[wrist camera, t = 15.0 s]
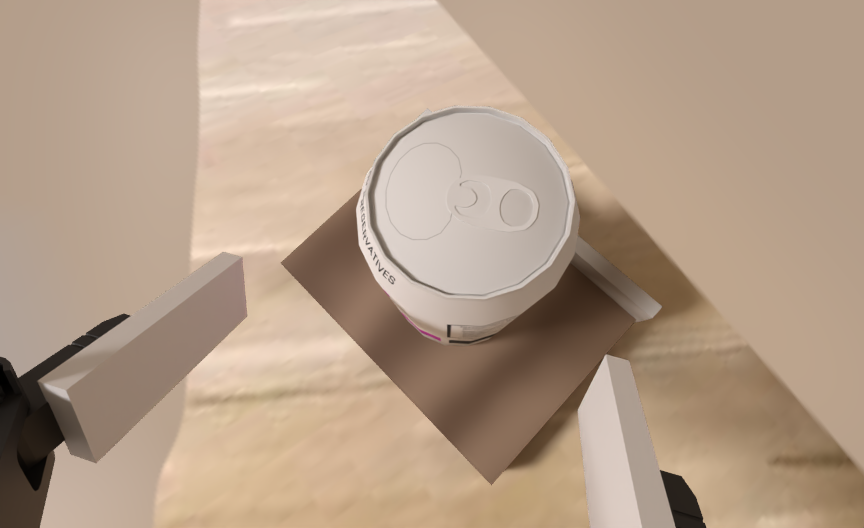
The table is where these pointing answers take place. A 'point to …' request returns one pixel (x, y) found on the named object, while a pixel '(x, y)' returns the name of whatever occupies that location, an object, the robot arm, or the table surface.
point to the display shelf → (482, 362)
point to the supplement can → (467, 221)
